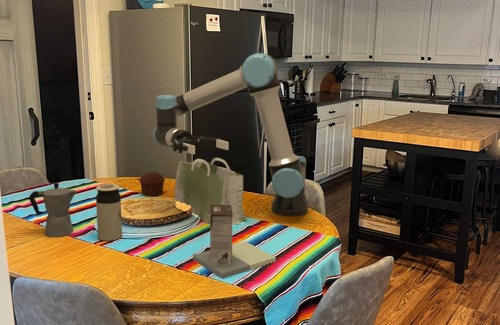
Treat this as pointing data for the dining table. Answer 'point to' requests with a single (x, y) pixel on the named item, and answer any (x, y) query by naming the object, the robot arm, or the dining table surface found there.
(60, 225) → the coffeepot
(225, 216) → the coffee box
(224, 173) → the grocery bag
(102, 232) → the travel mug
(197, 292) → the dining table surface
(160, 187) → the muffin
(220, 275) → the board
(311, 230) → the dining table surface
